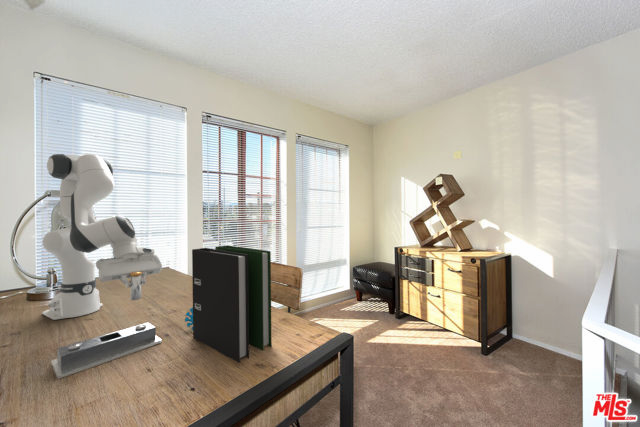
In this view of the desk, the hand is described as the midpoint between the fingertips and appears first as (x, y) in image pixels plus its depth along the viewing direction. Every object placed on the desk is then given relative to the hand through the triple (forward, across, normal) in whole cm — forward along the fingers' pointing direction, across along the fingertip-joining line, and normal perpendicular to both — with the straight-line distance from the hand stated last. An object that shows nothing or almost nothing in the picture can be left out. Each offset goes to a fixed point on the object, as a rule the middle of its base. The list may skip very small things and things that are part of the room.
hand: (136, 284), depth 100 cm
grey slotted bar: (+20, -10, +6) cm, 23 cm away
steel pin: (+3, 0, +4) cm, 5 cm away
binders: (+37, +18, -12) cm, 43 cm away
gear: (+23, +17, +3) cm, 29 cm away
